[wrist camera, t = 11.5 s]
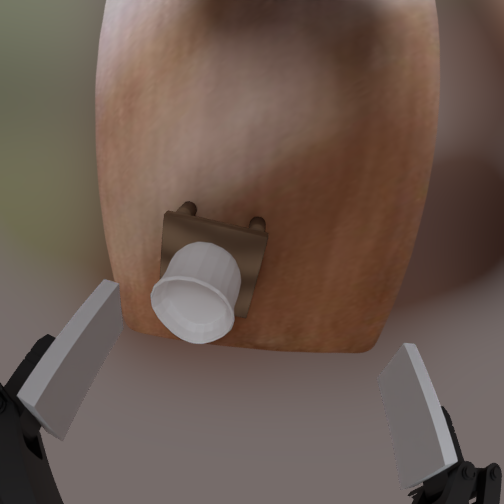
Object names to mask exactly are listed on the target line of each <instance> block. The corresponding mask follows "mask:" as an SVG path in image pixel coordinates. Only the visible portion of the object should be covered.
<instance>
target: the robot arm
mask: <svg viewBox="0 0 504 504" xmlns="http://www.w3.org/2000/svg"><path fill="white" fill-rule="evenodd" d="M122 330H123V320H122V311H121V301H120V290H119V283H116V282H113V281H109V280H106V279H104V280H103V281H102V282H101V283H100V285H99V286H98V287H97V288H96V289H95V291H93V293H92V294H91V295H90V296H89V297H88V299H87V300H86V301H85V302H84V304H83V305H82V306H81V307H80V308H79V309H78V311H77V312H76V313H75V314H74V316H73V317H72V318H71V319H70V321H69V322H68V323H67V325H66V326H65V327H64V328H63V330H62V331H61V332H60V334H59V335H58V336H57V338H55V337H53V336H51V335H49V334H47V335H45V336H44V337H43V338H41V339H39V340H38V341H37V342H36V343H35V345H34V346H33V348H32V349H31V351H30V352H29V353H28V354H27V355H26V357H25V359H24V360H23V361H22V362H21V364H20V365H19V366H18V368H17V369H16V371H15V372H14V374H13V375H12V376H11V378H10V379H9V381H8V382H7V384H6V385H5V386H4V387H3V386H2V385H1V383H0V504H64V503H63V501H62V499H61V497H60V494H59V491H58V489H57V486H56V483H55V481H54V478H53V475H52V472H51V469H50V466H49V463H48V460H47V456H46V453H45V449H44V446H43V442H42V438H41V434H40V432H39V430H40V428H41V426H42V427H43V428H44V429H45V430H46V431H47V432H48V433H49V434H51V435H53V436H54V437H56V438H58V439H60V440H61V441H63V440H64V438H65V436H66V434H67V431H68V430H69V427H70V425H71V423H72V421H73V419H74V417H75V415H76V413H77V411H78V409H79V407H80V405H81V403H82V401H83V400H84V398H85V396H86V394H87V392H88V390H89V388H90V386H91V384H92V383H93V381H94V379H95V377H96V375H97V373H98V371H99V370H100V368H101V366H102V365H103V363H104V361H105V359H106V357H107V356H108V354H109V352H110V351H111V349H112V347H113V345H114V344H115V342H116V340H117V339H118V337H119V335H120V333H121V332H122ZM377 381H378V385H379V389H380V392H381V397H382V401H383V405H384V409H385V413H386V417H387V421H388V426H389V430H390V435H391V439H392V445H393V449H394V455H395V460H396V466H397V471H398V477H399V483H400V490H403V489H407V488H411V487H414V486H416V485H418V484H420V483H422V482H423V486H421V487H419V488H417V489H415V490H413V491H411V492H410V493H409V494H408V496H411V495H414V494H416V493H417V494H416V495H414V496H413V497H412V498H413V499H414V500H413V502H412V504H469V500H470V499H473V498H475V497H476V502H474V503H472V504H499V501H500V492H501V478H502V473H501V469H500V467H499V465H498V464H496V463H492V464H490V465H489V466H487V467H486V468H475V467H474V465H473V464H472V463H471V462H469V461H464V459H463V456H462V453H461V449H460V446H459V443H458V439H457V436H456V433H454V432H455V430H454V427H453V426H452V421H451V418H450V415H449V414H448V413H447V411H446V410H445V408H444V407H443V406H440V403H439V401H438V398H437V395H436V393H435V390H434V387H433V385H432V383H431V380H430V378H429V375H428V372H427V370H426V368H425V366H424V363H423V361H422V358H421V356H420V354H419V352H418V349H417V347H416V345H415V344H409V343H403V344H402V346H401V347H400V349H399V350H398V351H397V353H396V354H395V356H394V357H393V358H392V360H391V361H390V362H389V363H388V365H387V366H386V367H385V369H384V370H383V371H382V372H381V373H380V375H379V376H378V377H377Z"/></svg>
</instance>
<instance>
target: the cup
mask: <svg viewBox="0 0 504 504" xmlns="http://www.w3.org/2000/svg"><path fill="white" fill-rule="evenodd" d="M240 285H241V275H240V270H239V268H238V265H237V263H236V260H235V259H234V258H233V257H232V255H231V254H230V253H228V252H227V251H226V250H225V249H223V248H222V247H219V246H217V245H215V244H213V243H208V242H195V243H191V244H188V245H186V246H184V247H183V248H182V249H180V250H179V251H177V252H176V253H175V255H174V256H173V258H172V259H171V261H170V263H169V266H168V268H167V270H166V272H165V274H164V275H163V277H162V278H161V279H160V280H159V281H158V282H157V283H156V284H155V285H154V287H153V290H152V292H151V295H150V296H151V304H152V308H153V310H154V311H155V313H156V315H157V316H158V318H159V319H160V320H161V322H162V323H163V324H164V325H165V326H166V327H167V328H168V329H169V330H170V331H171V332H172V333H173V334H175V335H176V336H178V337H179V338H180V339H182V340H185V341H187V342H190V343H195V344H204V343H208V342H212V341H215V340H217V339H219V338H221V337H223V336H225V335H226V334H227V333H228V332H229V331H230V330H231V329H232V326H233V323H234V306H235V304H236V301H237V298H238V294H239V290H240Z"/></svg>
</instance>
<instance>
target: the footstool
mask: <svg viewBox="0 0 504 504" xmlns="http://www.w3.org/2000/svg"><path fill="white" fill-rule="evenodd" d="M196 210H197V209H196V205H195V204H194V203H193V202H190V201H188V202H185V203H184V204H183V205H182V206H181V207H180V208H179V209H178V210H177V211H176V212H173V211H167V212H166V213H165V214H164V222H163V234H162V249H161V267H160V279H161V278H162V277H163V275H164V274H165V272H166V270H167V268H168V266H169V263H170V261H171V259H172V258H173V256H174V255H175V253H176V252H177V251H179V250H180V249H182V248H183V247H184V246H186V245H188V244H191V243H195V242H208V243H213V244H215V245H217V246H219V247H222V248H223V249H225V250H226V251H227V252H228V253H230V254H231V255H232V257H233V258H234V259H235V260H236V263H237V265H238V268H239V270H240V275H241V285H240V290H239V294H238V298H237V301H236V304H235V306H234V316H238V317H242V318H246V317H247V313H248V310H249V306H250V302H251V299H252V295H253V292H254V288H255V284H256V281H257V277H258V273H259V270H260V266H261V262H262V259H263V255H264V251H265V248H266V244H267V240H268V233H266V232H265V221H264V219H263V218H261V217H254V218H253V219H252V220H251V221H250V225H249V228H245V227H240V226H236V225H232V224H227V223H223V222H218V221H214V220H209V219H205V218H200V217H196V216H193V215H194V214H195V213H196Z"/></svg>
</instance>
